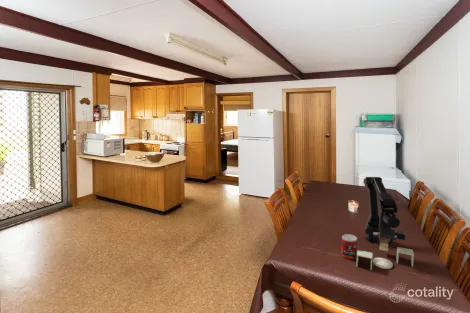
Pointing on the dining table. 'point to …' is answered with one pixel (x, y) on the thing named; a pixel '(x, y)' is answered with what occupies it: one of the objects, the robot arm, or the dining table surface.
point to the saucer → (382, 263)
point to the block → (383, 245)
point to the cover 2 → (405, 251)
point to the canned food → (349, 246)
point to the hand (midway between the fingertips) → (383, 247)
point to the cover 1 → (364, 254)
